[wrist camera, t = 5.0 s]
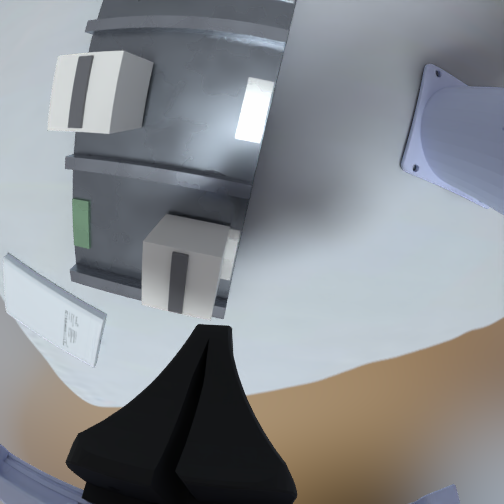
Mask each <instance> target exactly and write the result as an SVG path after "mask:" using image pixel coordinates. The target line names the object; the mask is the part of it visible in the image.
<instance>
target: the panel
mask: <svg viewBox="0 0 504 504" xmlns="http://www.w3.org/2000/svg"><path fill="white" fill-rule="evenodd" d="M295 4H296V0H103V3H102V6H101V9H100V12H99V15H98V19H97V20H90V21H88V23H87V26H86V30H85V32H87V33H90V34H93V36H92V40H91V44H90V48H89V52H103V51H126V52H129V53H131V54H134V55H136V56H139V57H141V58H144V59H146V60H149V61H151V62H154V64H153V68H152V73H151V77H150V82H149V87H148V92H147V98H146V103H145V109H144V115H143V121H142V128H138V129H132V130H127V131H122V132H116V133H111V134H103V133H89V132H76V134H75V146H74V154H72V155H69V156H66V159H65V169H72V170H73V199H72V208H73V233H74V245H75V255H76V264H75V265H74V266H73V267H72V268H71V269H70V275H71V281H73V282H76V283H79V284H83V285H86V286H89V287H93V288H96V289H100V290H103V291H107V292H111V293H114V294H118V295H122V296H125V297H129V298H133V299H137V300H141V301H142V252H143V240H144V239H145V238H146V237H147V236H148V234H149V233H150V232H151V231H152V230H153V229H154V227H155V226H156V225H157V224H158V223H159V221H160V220H161V219H162V218H163V217H164V216H165V215H166V214H170V215H175V216H180V217H185V218H190V219H195V220H200V221H205V222H210V223H215V224H220V225H225V226H230V230H229V235H228V240H227V245H226V250H225V255H224V260H223V265H222V271H221V276H220V281H219V286H218V290H217V295H216V299H215V304H214V308H213V313H212V317H216V318H221V319H224V315H225V310H226V304H227V299H228V294H229V289H230V284H231V280H232V275H233V270H234V266H235V261H236V256H237V252H238V247H239V243H240V238H241V233H242V229H243V224H244V220H245V215H246V211H247V206H248V202H249V199H250V195H251V190H252V186H253V179H254V175H255V171H256V166H257V162H258V158H259V153H260V149H261V145H262V140H263V136H264V132H265V127H266V123H267V119H268V115H269V110H270V106H271V102H272V98H273V93H274V89H275V85H276V81H277V77H278V73H279V69H280V64H281V60H282V56H283V52H284V48H285V45H286V42H287V38H288V34H289V28H290V24H291V20H292V16H293V12H294V8H295ZM89 52H88V53H89Z"/></svg>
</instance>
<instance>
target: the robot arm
mask: <svg viewBox="0 0 504 504" xmlns="http://www.w3.org/2000/svg"><path fill="white" fill-rule="evenodd" d="M436 71H437V72H438V74H439V76H438V77H437V76H436ZM415 164H416V169H415V170H414V171H413V169H412V168H413V165H415ZM401 167H402V169H403V171H405V172H407V173H409V174H412V175H414V176H417V177H419V178H422V179H424V180H426V181H429V182H431V183H433V184H436V185H438V186H440V187H442V188H445V189H447V190H449V191H451V192H453V193H456V194H458V195H460V196H462V197H464V198H466V199H468V200H470V201H472V202H474V203H476V204H478V205H480V206H482V207H484V208H486V209H488V208H489V207H491V208H493V209H494V210H496V211H498V212H499V213H501V214H502V215H504V87H476V86H467V85H466V84H464V83H463V82H461V81H460V80H458V79H457V78H455V77H454V76H452V75H451V74H449V73H447V72H446V71H444V70H442V69H441V68H439V67H437V66H435V65H434V64H427V65H425V67H424V72H423V78H422V83H421V88H420V92H419V97H418V101H417V106H416V110H415V114H414V118H413V122H412V126H411V130H410V134H409V138H408V141H407V145H406V148H405V152H404V155H403V159H402V162H401ZM66 464H67V466H68V468H69V469H71V471H73V472H74V473H75V474H76V475H78V476H79V477H80V478H82V479H83V480H84V481H86V485H85V488H84V490H82V489H79V488H77V487H75V486H72V485H70V484H68V483H66V482H63V481H61V480H59V479H57V478H55V477H53V476H51V475H49V474H47V473H45V472H43V471H41V470H39V469H37V468H35V467H33V466H32V465H30V464H28V463H26V462H25V461H23V460H21V459H20V458H18V457H16V456H15V455H13V454H11V453H10V452H8V450H7V449H6V448H5V447H4V446H2V445H1V444H0V500H1V501H2V502H3V503H4V504H293V502H294V500H295V499H296V498H297V490H296V487H295V483H294V481H293V478H292V476H291V474H290V472H289V470H288V467H287V465H286V463H285V462H284V460H283V459H282V458H281V456H280V455H279V454H278V452H277V451H276V449H275V448H274V447H273V445H272V444H271V442H270V441H269V439H268V437H267V436H266V434H265V433H264V431H263V429H262V427H261V426H260V424H259V422H258V420H257V418H256V417H255V415H254V413H253V410H252V408H251V406H250V404H249V402H248V400H247V397H246V395H245V392H244V390H243V387H242V384H241V381H240V378H239V375H238V372H237V369H236V365H235V360H234V356H233V340H232V328H231V327H230V326H223V325H204V324H198V325H197V326H196V327H195V329H194V330H193V332H192V334H191V335H190V337H189V338H188V339H187V341H186V342H185V344H184V345H183V346H182V348H181V349H180V350H179V352H178V353H177V354H176V356H175V357H174V358H173V359H172V361H171V362H170V363H169V364H168V365H167V367H166V368H165V369H164V370H163V371H162V372H161V373H160V374H159V376H158V377H157V378H156V379H155V380H154V381H153V382H152V383H151V384H150V385H149V386H148V387H147V388H146V389H144V390H143V391H142V392H141V393H140V394H139V395H138V396H136V397H135V398H134V399H133V400H132V401H130V402H129V403H128V404H127V405H125V406H124V407H123V408H121V409H120V410H118V411H117V412H115V413H114V414H112V415H111V416H109V417H108V418H106V419H105V420H103V421H101V422H100V423H98V424H96V425H94V426H92V427H90V428H88V429H87V430H85V431H83V432H81V433H78V435H77V437H76V439H75V441H74V442H73V445H72V447H71V450H70V453H69V455H68V457H67V460H66ZM409 504H460V501H459V497H458V493H457V489H456V486H455V485H454V484H452V485H450V486H448V487H445V488H443V489H440V490H437V491H435V492H432V493H430V494H427V495H425V496H423V497H421V498H419V499H418V500H417V501H416V502H413V503H409Z"/></svg>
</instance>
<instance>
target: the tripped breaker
mask: <svg viewBox="0 0 504 504" xmlns="http://www.w3.org/2000/svg"><path fill="white" fill-rule="evenodd" d="M229 230H230V226H225V225H220V224H215V223H210V222H205V221H200V220H195V219H190V218H185V217H180V216H175V215H170V214H166V215H165V216H164V217H163V218H162V219H161V220H160V221H159V223H158V224H157V225H156V226H155V227H154V229H153V230H152V231H151V232H150V233H149V234H148V236H147V237H146V238H145V239H144V240H143V252H142V305H144V306H148V307H152V308H157V309H161V310H165V311H169V312H173V313H178V314H182V315H187V316H191V317H196V318H200V319H205V320H210V321H211V317H212V313H213V308H214V304H215V299H216V295H217V290H218V286H219V281H220V276H221V271H222V265H223V260H224V255H225V250H226V245H227V240H228V235H229Z"/></svg>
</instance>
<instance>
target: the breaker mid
mask: <svg viewBox="0 0 504 504" xmlns="http://www.w3.org/2000/svg"><path fill="white" fill-rule="evenodd" d="M153 64H154V62H151V61H149V60H146V59H144V58H141V57H139V56H136V55H134V54H131V53H129V52H126V51H103V52H89V53H79V54H70V55H62V56H58V59H57V64H56V69H55V74H54V79H53V85H52V92H51V99H50V107H49V116H48V126H47V131H72V132H89V133H103V134H111V133H116V132H122V131H127V130H132V129H138V128H142V121H143V115H144V109H145V103H146V98H147V92H148V87H149V82H150V77H151V73H152V68H153Z"/></svg>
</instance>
